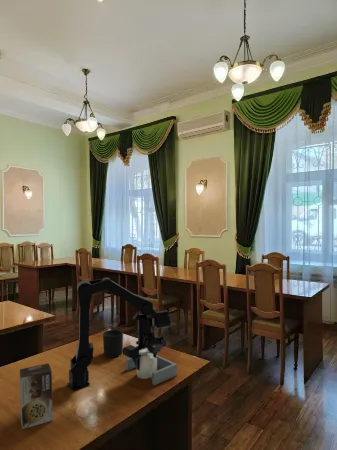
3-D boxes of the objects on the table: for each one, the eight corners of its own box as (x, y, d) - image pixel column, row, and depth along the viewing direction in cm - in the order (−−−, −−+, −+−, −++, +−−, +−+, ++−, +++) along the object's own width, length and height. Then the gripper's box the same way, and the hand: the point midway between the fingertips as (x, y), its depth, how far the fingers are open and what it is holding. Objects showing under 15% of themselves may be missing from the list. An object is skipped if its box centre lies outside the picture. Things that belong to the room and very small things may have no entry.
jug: (133, 374, 132) (133, 352, 132) (146, 369, 137) (146, 348, 137) (148, 383, 125) (148, 360, 125) (162, 377, 129) (161, 355, 129)
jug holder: (154, 385, 123) (153, 373, 123) (126, 369, 137) (126, 359, 137) (176, 375, 131) (176, 364, 131) (148, 361, 145) (148, 351, 145)
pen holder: (126, 351, 156) (126, 330, 156) (117, 359, 147) (116, 337, 147) (109, 348, 159) (109, 328, 159) (99, 356, 150) (99, 335, 150)
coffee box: (50, 410, 107) (49, 362, 107) (53, 421, 101) (52, 370, 101) (20, 418, 103) (19, 368, 103) (21, 430, 97) (20, 377, 97)
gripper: (138, 340, 119) (138, 382, 120) (174, 328, 132) (175, 366, 132) (121, 333, 128) (121, 372, 128) (157, 322, 140) (157, 358, 140)
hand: (145, 367), depth 132 cm, fingers closed on jug, 7 cm apart
